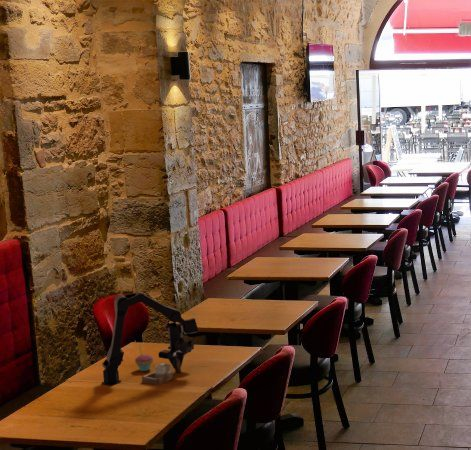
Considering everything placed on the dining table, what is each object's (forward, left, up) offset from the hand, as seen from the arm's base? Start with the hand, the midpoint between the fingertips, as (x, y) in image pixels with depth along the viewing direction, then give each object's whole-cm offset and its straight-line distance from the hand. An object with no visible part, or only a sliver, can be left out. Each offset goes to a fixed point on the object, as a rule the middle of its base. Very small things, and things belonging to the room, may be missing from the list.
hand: (177, 368), depth 403 cm
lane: (-14, 0, -2) cm, 14 cm away
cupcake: (-4, +17, -2) cm, 18 cm away
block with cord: (-6, 0, -2) cm, 6 cm away
